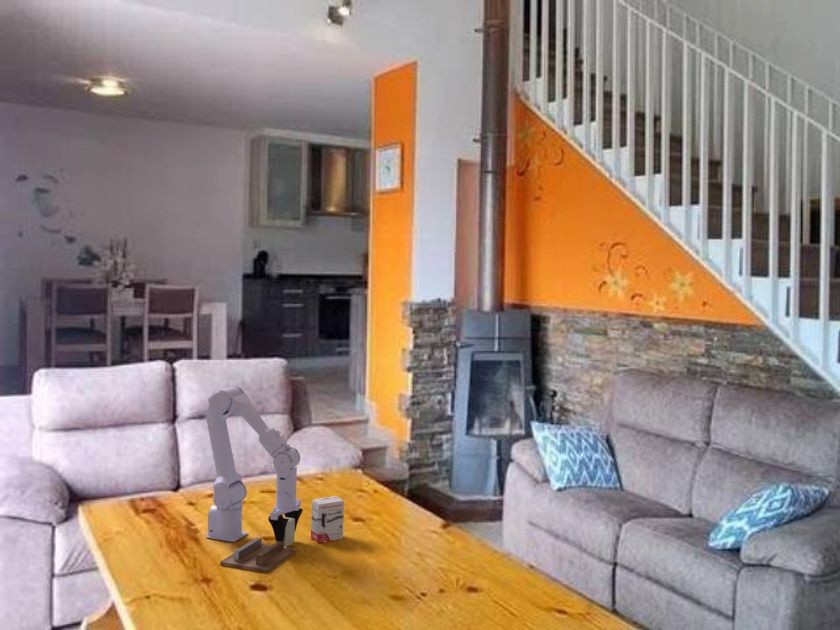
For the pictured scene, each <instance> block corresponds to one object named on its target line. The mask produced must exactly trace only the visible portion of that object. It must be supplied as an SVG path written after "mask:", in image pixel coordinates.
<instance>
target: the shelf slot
mask: <svg viewBox="0 0 840 630" xmlns="http://www.w3.org/2000/svg"><path fill="white" fill-rule="evenodd" d="M296 552H297V551H296V549H295V548H289V547H286V548H284V547H283V541H278V542H276V541H275V543H273V544H264V543H262V547H260V548H259V549H257V550H256V551H254V552H252V553H251V554H249V555H248V556H246V557H245V558H243V559H241V560H240V561H234V553H232V554H230V555H229V556H227V557H225V558H224V559H222V560H220V562H219V563H220V564H219V565H220V566H222V565H223V566H224V567H228V568H234V569H240V570H245V571H251V572H256V573H257V572H258V573H263V574H268V573H269V572H270V571H272V570H273V569H276V567H278V566H280V564H282V563H283V562H285V561H286V560H287V558H288V559H289V558H291V557H292V556H293V555H295V554H296ZM294 553H295V554H294ZM223 566H222V567H223Z"/></svg>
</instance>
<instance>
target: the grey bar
mask: <svg viewBox="0 0 840 630" xmlns="http://www.w3.org/2000/svg"><path fill="white" fill-rule="evenodd" d="M262 538H263V537H255V538H253V539H252V540H250V541H248V542H247V543H245V544H243V545H242V546H240V547H239V548H237V549H235V550H234V551H233V554H234V561H240V560H241V559H243V558H245V557H246V556H248V555H249V554H251V553H252V552H254V551H256V550H257V549H259V548H260V547H262V544H263V542H262Z"/></svg>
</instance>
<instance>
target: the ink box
mask: <svg viewBox="0 0 840 630" xmlns="http://www.w3.org/2000/svg"><path fill="white" fill-rule="evenodd" d="M344 512H345V501H344V500H343V498H340V497H339V496H337V495H334V496H328V497H321V498H314V499H312V501H311V523H310V525H311V526H310V539H312V540H313V541H314V542H315V541H316V542H315V543H317V544H320V543H319V542H322V543H325V542H324V541H328V542H331V541H330V540H333V541H336V540H337V539H339V540H343V539H344V520H345V519H344V518H345V516H344ZM342 538H343V539H342ZM337 541H338V540H337Z"/></svg>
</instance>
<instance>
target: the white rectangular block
mask: <svg viewBox="0 0 840 630" xmlns="http://www.w3.org/2000/svg"><path fill="white" fill-rule="evenodd" d="M284 518H286V519H289V520H288V522H287V525H286V528H285V535H284V540H283V547H286V548H288V547H289V546H290V544H291V543H292V544H293V542H294V543H295V534H296V531H295V518H288V517H284ZM276 542H278V541H276V540H275V543H276ZM292 544H291V545H292ZM288 545H289V546H288ZM287 546H288V547H287Z"/></svg>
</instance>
